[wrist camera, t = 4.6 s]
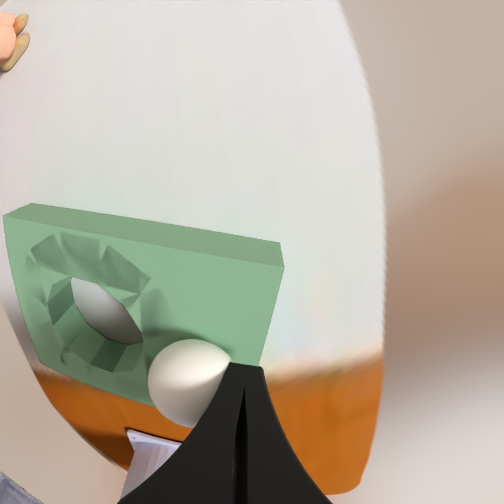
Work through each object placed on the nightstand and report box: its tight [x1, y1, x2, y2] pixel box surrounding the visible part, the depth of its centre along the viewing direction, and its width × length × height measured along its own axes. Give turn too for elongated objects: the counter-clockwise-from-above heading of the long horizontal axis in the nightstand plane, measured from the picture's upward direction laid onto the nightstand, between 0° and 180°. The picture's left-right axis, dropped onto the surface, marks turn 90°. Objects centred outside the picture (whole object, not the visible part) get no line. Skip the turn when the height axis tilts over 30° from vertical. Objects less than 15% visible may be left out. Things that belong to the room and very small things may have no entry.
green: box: [3, 203, 284, 407], centre depth 12 cm, size 10×14×2 cm
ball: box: [148, 339, 234, 428], centre depth 9 cm, size 4×4×4 cm
